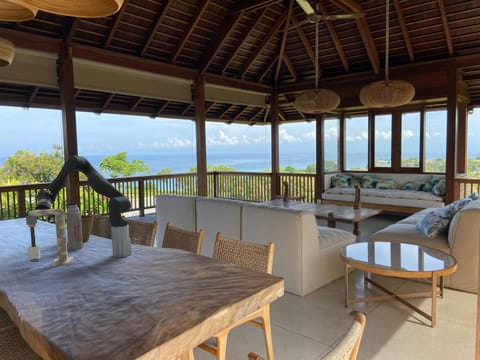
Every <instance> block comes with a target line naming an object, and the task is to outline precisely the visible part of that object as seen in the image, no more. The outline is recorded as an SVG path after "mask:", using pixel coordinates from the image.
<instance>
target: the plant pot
mask: <svg viewBox="0 0 480 360" xmlns="http://www.w3.org/2000/svg"><path fill="white" fill-rule="evenodd" d="M93 224H94V215H91V214H84V215H83V214H82V215H81V226H82V242H83V243H85V242H88V241H89V239H90V236H91V233H92V230H93Z"/></svg>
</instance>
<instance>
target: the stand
mask: <svg viewBox="0 0 480 360" xmlns="http://www.w3.org/2000/svg"><path fill="white" fill-rule="evenodd" d="M27 211H28V210H27ZM42 215H55V221H54V222H55V235H56V247H57V258H54V260H53V261H52V264H51V266H52V267H58V266H59V265H60V266H66V265H67V266H68V265H73V262H74V256H68V240H67V226H66V213H65V209H64V210H63V208H62V207H61V208H51V209H47V210H35V209H33V210H30V211H28V217H29V216H38V217H43V216H42Z"/></svg>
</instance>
